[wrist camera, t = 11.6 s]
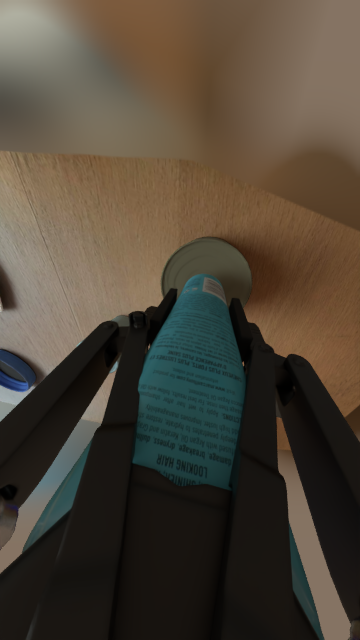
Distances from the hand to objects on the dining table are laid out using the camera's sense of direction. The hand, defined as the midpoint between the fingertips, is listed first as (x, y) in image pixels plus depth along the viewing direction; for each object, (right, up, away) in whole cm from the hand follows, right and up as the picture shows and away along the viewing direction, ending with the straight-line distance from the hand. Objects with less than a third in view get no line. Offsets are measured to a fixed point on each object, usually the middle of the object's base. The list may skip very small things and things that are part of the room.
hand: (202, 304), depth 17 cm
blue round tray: (-61, -18, +38) cm, 74 cm away
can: (+2, +6, +10) cm, 12 cm away
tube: (+1, +2, +3) cm, 4 cm away
